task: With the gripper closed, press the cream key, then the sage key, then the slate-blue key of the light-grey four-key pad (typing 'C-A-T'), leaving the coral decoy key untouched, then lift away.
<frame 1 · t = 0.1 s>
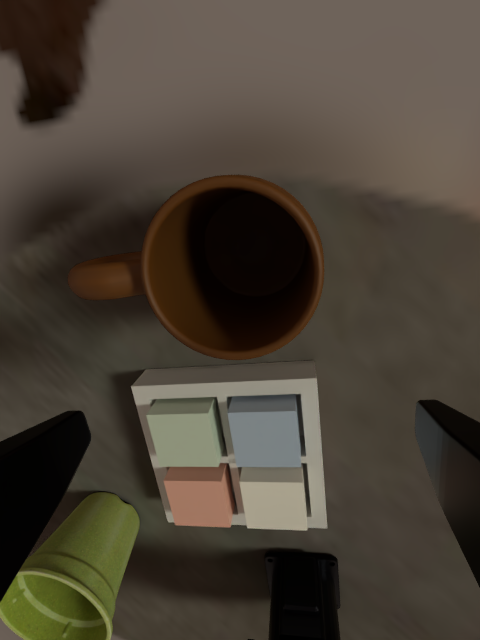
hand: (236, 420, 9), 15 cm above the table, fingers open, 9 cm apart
key cream: (274, 494, 24), point 3 cm above the table, slide at 0.0 cm
plant pot: (112, 512, 33), on the table
keypad: (237, 436, 27), on the table
key slate: (266, 430, 23), point 3 cm above the table, slide at 0.0 cm
key sage: (187, 431, 24), point 3 cm above the table, slide at 0.0 cm
mug: (222, 249, 22), on the table
key coral: (200, 493, 25), point 3 cm above the table, slide at 0.0 cm
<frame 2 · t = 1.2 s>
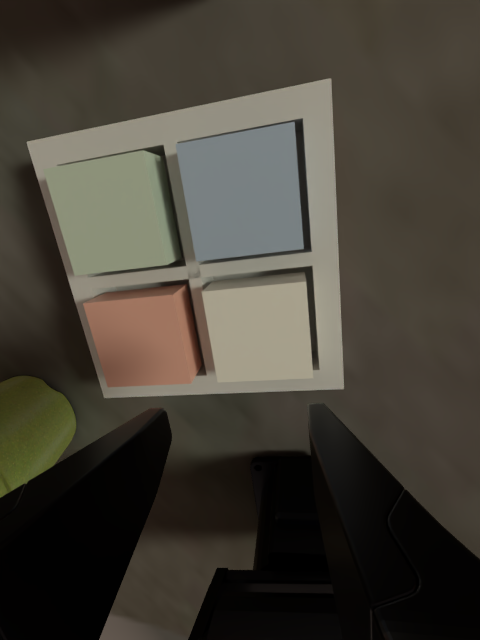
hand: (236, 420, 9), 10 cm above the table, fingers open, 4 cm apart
key cream: (260, 327, 15), point 3 cm above the table, slide at 0.0 cm
plant pot: (39, 410, 23), on the table
keypad: (207, 262, 18), on the table
key slate: (244, 198, 14), point 3 cm above the table, slide at 0.0 cm
key sage: (118, 217, 15), point 3 cm above the table, slide at 0.0 cm
key coral: (146, 336, 16), point 3 cm above the table, slide at 0.0 cm
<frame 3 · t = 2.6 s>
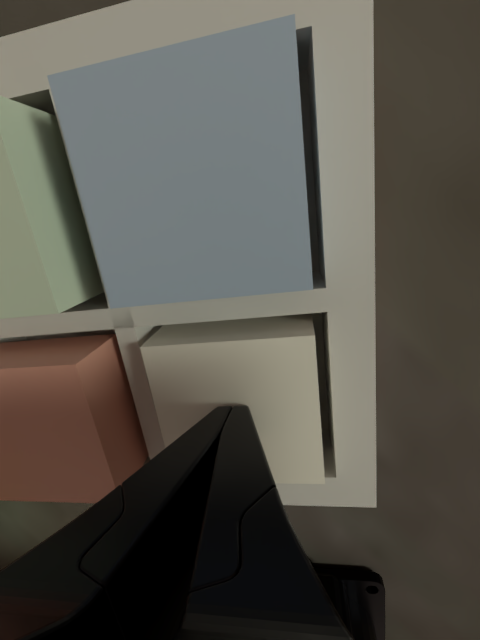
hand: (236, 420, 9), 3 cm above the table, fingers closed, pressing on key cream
key cream: (241, 397, 10), point 2 cm above the table, slide at 0.8 cm, touching gripper
keypad: (158, 293, 11), on the table
key slate: (200, 189, 7), point 3 cm above the table, slide at 0.0 cm
key coral: (52, 418, 10), point 3 cm above the table, slide at 0.0 cm
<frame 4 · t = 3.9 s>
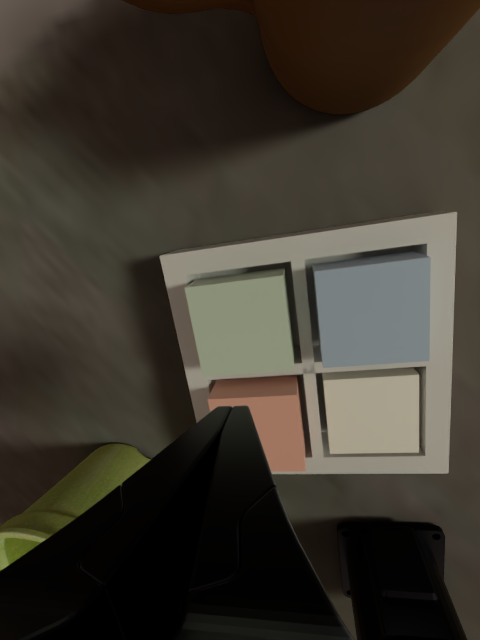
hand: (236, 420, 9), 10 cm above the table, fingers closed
key cream: (367, 405, 18), point 2 cm above the table, slide at 1.3 cm
plant pot: (127, 473, 25), on the table
keypad: (307, 348, 19), on the table
key slate: (367, 310, 15), point 3 cm above the table, slide at 0.0 cm
key sage: (243, 322, 16), point 3 cm above the table, slide at 0.0 cm
mug: (297, 33, 15), on the table
key coral: (259, 423, 17), point 3 cm above the table, slide at 0.0 cm
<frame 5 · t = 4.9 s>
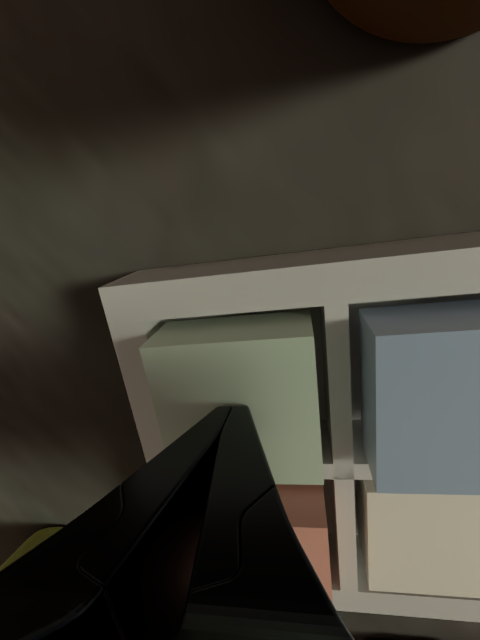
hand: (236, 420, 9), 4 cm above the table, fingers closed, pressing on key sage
key cream: (429, 519, 11), point 2 cm above the table, slide at 1.3 cm
plant pot: (79, 560, 18), on the table
keypad: (334, 420, 13), on the table
key slate: (458, 395, 8), point 3 cm above the table, slide at 0.0 cm
key sage: (240, 397, 10), point 3 cm above the table, slide at 0.3 cm, touching gripper
key coral: (261, 546, 11), point 3 cm above the table, slide at 0.0 cm
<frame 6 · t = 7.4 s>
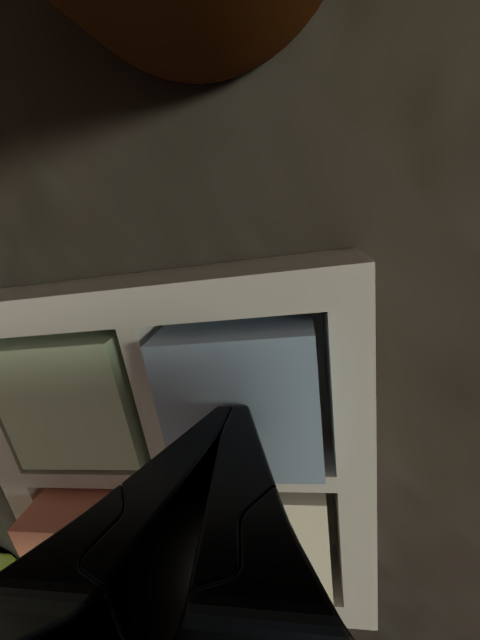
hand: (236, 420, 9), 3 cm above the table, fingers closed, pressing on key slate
key cream: (264, 527, 12), point 2 cm above the table, slide at 1.3 cm
keypad: (189, 431, 13), on the table
key slate: (241, 397, 10), point 2 cm above the table, slide at 0.8 cm, touching gripper
key sage: (78, 395, 11), point 2 cm above the table, slide at 1.2 cm
key coral: (103, 553, 12), point 3 cm above the table, slide at 0.0 cm
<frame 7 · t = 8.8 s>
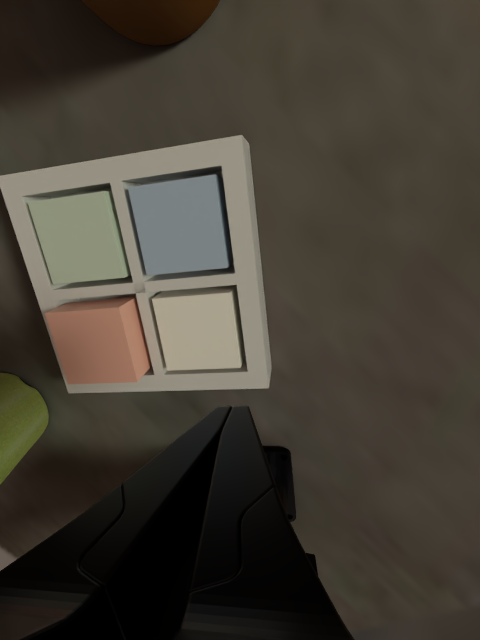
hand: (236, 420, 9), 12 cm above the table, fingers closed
key cream: (201, 327, 19), point 2 cm above the table, slide at 1.3 cm
plant pot: (16, 403, 26), on the table
keypad: (157, 277, 20), on the table
key slate: (184, 226, 17), point 2 cm above the table, slide at 1.2 cm
key sage: (87, 238, 18), point 2 cm above the table, slide at 1.2 cm
key coral: (101, 341, 19), point 3 cm above the table, slide at 0.0 cm
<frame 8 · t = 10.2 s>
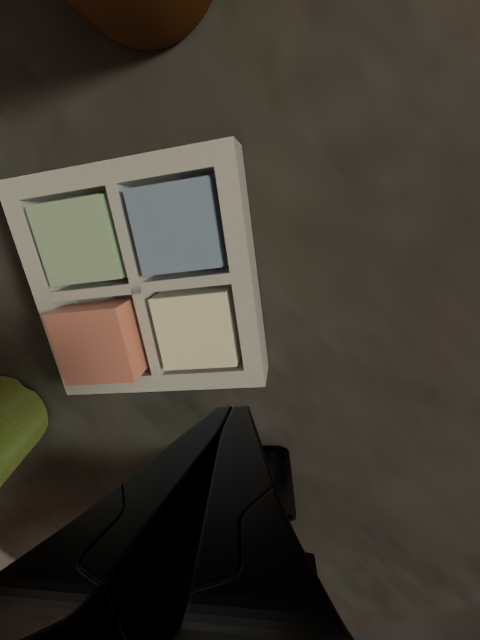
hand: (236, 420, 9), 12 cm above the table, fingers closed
key cream: (197, 327, 19), point 2 cm above the table, slide at 1.3 cm
plant pot: (16, 406, 26), on the table
keypad: (154, 278, 21), on the table
key slate: (179, 227, 18), point 2 cm above the table, slide at 1.2 cm
key sage: (84, 241, 19), point 2 cm above the table, slide at 1.2 cm
key coral: (99, 342, 19), point 3 cm above the table, slide at 0.0 cm
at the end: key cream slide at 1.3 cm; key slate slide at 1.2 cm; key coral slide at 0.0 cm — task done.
